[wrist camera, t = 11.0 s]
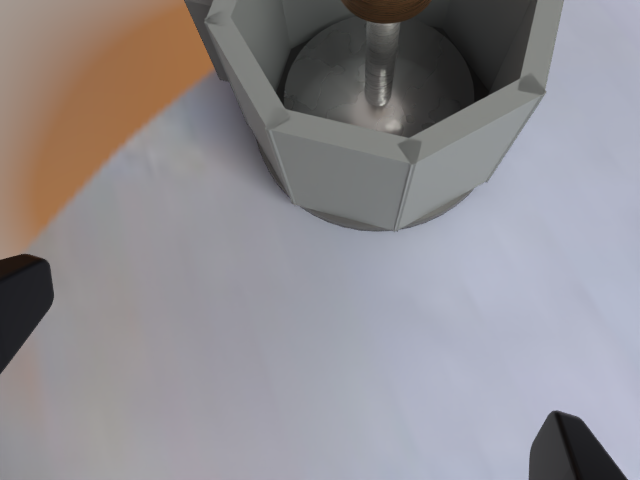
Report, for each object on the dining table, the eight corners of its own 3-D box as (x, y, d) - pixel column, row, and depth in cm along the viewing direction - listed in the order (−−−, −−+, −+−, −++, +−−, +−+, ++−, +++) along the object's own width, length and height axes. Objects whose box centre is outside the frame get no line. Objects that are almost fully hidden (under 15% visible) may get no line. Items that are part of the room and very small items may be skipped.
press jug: (470, 260, 23) (529, 198, 15) (196, 188, 25) (123, 100, 17) (521, 38, 26) (593, -111, 18) (271, -13, 27) (237, -168, 20)
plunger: (447, 208, 22) (523, 66, 12) (261, 161, 23) (191, -3, 13) (488, 42, 24) (582, -198, 14) (315, 6, 25) (288, -239, 15)
